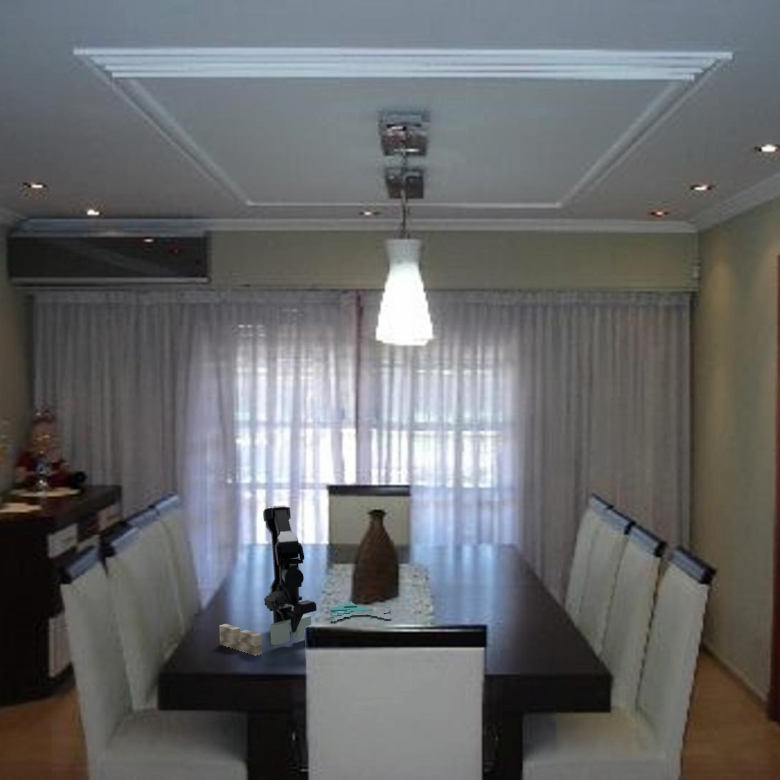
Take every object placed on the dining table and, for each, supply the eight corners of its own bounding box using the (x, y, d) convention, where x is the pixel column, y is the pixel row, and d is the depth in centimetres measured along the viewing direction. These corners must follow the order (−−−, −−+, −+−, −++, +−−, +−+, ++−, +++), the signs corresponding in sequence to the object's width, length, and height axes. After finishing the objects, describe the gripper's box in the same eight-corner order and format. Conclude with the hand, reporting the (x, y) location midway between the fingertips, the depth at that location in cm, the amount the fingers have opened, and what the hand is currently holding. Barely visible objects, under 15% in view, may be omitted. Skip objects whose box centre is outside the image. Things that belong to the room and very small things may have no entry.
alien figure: (390, 621, 322) (388, 606, 342) (390, 614, 321) (388, 599, 341) (330, 623, 321) (331, 608, 341) (330, 617, 321) (331, 602, 341)
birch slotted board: (220, 644, 299) (219, 625, 299) (226, 643, 301) (225, 623, 300) (255, 656, 286) (254, 635, 286) (262, 654, 288) (261, 634, 288)
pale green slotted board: (275, 645, 291) (275, 625, 291) (270, 644, 293) (270, 624, 293) (311, 635, 301) (310, 616, 301) (306, 633, 303) (305, 614, 303)
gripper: (249, 581, 298) (251, 631, 298) (287, 590, 284) (289, 642, 285) (278, 574, 305) (280, 623, 306) (316, 583, 292) (318, 634, 293)
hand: (291, 631), depth 297 cm, fingers closed on pale green slotted board, 2 cm apart
